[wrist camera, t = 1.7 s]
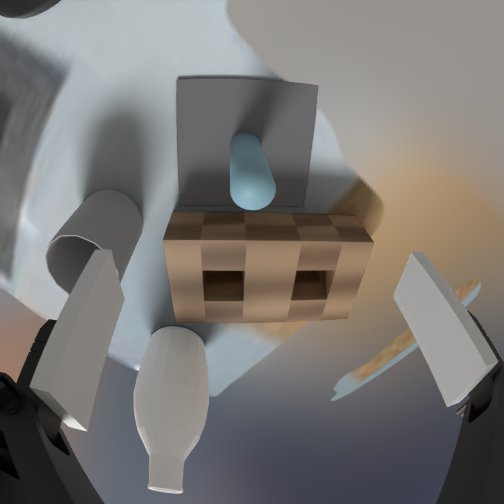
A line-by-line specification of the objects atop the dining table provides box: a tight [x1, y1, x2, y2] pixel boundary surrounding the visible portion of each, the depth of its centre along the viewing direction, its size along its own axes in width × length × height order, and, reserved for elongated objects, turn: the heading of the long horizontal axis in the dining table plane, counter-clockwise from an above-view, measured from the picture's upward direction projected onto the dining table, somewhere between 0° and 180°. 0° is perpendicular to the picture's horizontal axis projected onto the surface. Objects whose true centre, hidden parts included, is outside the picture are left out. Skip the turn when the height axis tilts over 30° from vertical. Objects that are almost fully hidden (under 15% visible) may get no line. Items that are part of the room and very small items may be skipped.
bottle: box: [134, 326, 209, 493], centre depth 36 cm, size 11×11×25 cm
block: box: [163, 212, 374, 323], centre depth 35 cm, size 12×22×6 cm, turn 87°
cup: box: [45, 189, 143, 295], centre depth 29 cm, size 8×8×10 cm
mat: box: [176, 78, 318, 207], centre depth 29 cm, size 14×14×1 cm
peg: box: [230, 131, 276, 210], centre depth 24 cm, size 3×3×12 cm
